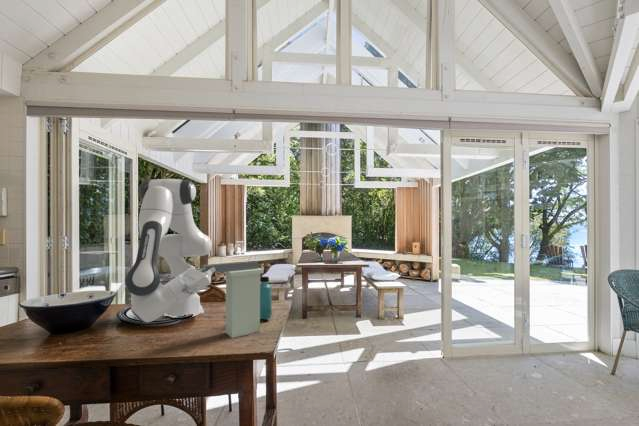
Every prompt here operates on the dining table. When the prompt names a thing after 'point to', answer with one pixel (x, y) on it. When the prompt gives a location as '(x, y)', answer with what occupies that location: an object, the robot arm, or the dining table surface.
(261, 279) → the beverage bottle
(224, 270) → the graphite bar
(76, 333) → the dining table surface
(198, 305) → the robot arm
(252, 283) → the sage stand
